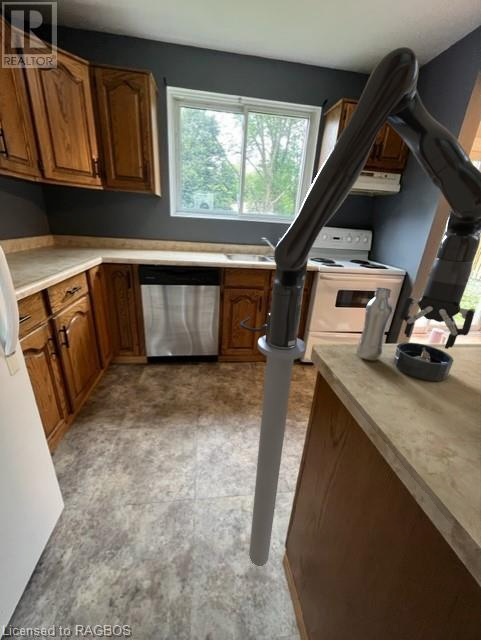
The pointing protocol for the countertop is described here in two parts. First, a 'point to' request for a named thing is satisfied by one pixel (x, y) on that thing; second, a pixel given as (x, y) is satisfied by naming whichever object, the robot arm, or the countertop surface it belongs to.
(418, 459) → the countertop surface
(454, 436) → the countertop surface
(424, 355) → the figurine
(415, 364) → the pan
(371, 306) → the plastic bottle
